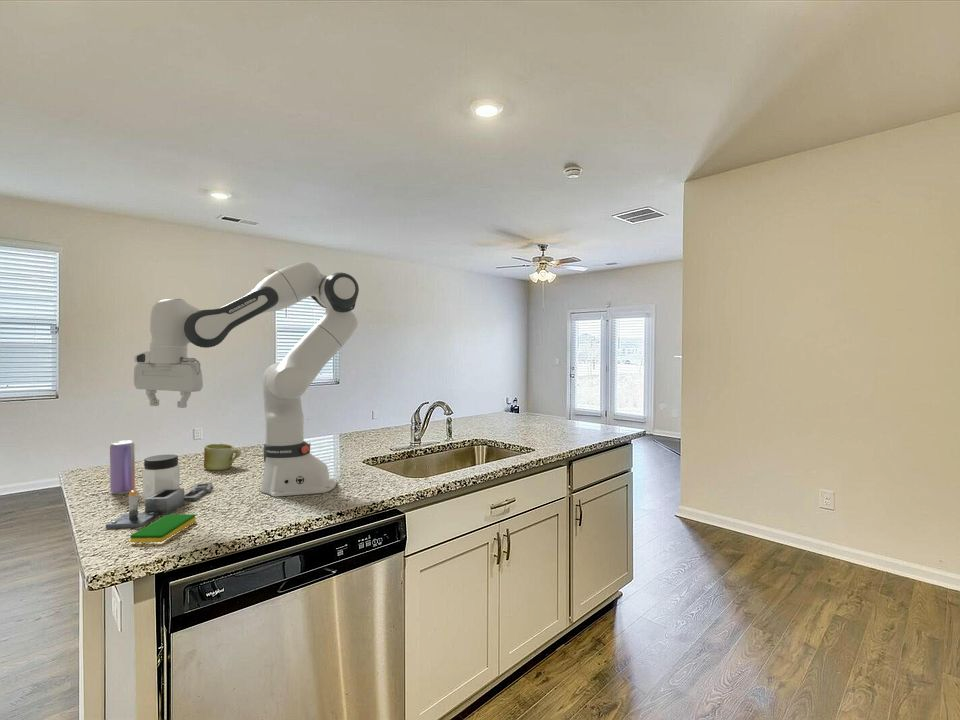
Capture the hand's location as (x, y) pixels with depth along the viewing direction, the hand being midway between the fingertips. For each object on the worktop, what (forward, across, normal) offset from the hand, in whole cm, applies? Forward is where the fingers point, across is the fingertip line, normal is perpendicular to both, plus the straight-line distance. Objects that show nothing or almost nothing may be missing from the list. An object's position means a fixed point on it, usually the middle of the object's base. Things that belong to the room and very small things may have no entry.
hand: (168, 406), depth 135 cm
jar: (+27, +5, -3) cm, 28 cm away
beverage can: (+28, +22, -6) cm, 36 cm away
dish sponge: (+28, -17, +17) cm, 37 cm away
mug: (+27, +15, -37) cm, 48 cm away
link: (+27, -4, +4) cm, 28 cm away
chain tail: (+27, 0, -10) cm, 29 cm away
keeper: (+27, -4, +14) cm, 31 cm away
